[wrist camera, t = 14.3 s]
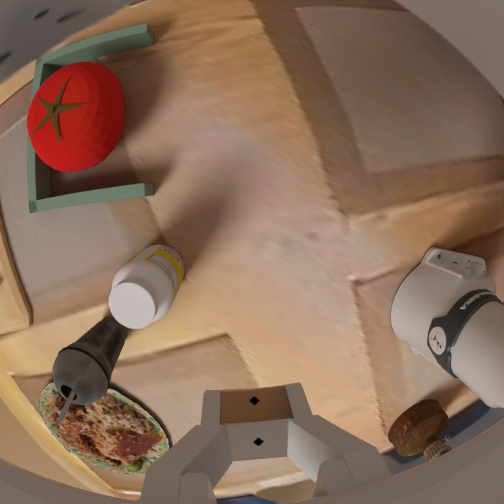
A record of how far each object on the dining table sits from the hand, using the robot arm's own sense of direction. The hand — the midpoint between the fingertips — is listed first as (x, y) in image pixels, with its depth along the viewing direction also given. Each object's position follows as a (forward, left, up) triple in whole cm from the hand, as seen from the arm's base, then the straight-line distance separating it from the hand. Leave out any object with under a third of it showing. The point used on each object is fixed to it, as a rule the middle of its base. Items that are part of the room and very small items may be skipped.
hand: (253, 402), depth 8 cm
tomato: (+19, -17, -29) cm, 39 cm away
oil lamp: (-36, +42, -29) cm, 63 cm away
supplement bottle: (+10, +3, -29) cm, 31 cm away
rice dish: (+29, +35, -30) cm, 54 cm away
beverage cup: (+19, +12, -29) cm, 37 cm away
